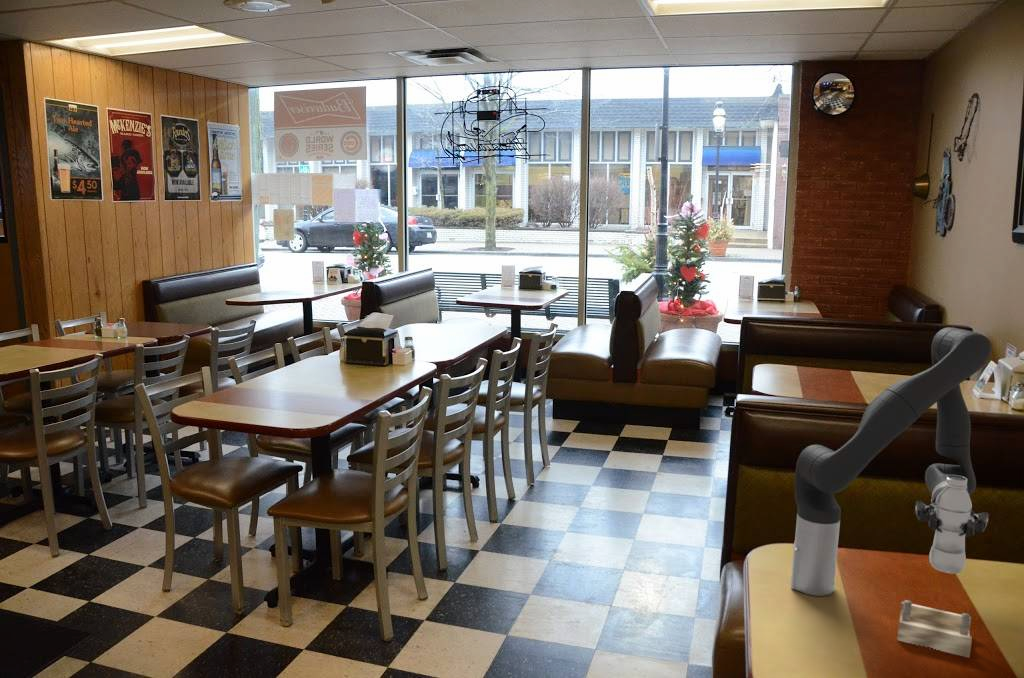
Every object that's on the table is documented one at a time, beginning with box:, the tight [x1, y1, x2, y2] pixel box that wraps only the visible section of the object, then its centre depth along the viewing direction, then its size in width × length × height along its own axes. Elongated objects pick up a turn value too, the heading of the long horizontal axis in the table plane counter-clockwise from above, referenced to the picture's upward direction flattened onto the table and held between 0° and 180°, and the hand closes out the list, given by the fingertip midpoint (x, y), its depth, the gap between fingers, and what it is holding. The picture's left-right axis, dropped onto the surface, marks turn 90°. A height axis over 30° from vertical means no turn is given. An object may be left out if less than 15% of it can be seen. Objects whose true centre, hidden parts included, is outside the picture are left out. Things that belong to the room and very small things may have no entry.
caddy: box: [896, 599, 973, 659], centre depth 169 cm, size 13×10×6 cm
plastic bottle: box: [928, 475, 973, 575], centre depth 167 cm, size 6×7×20 cm
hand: (951, 529), depth 165 cm, fingers closed on plastic bottle, 5 cm apart
